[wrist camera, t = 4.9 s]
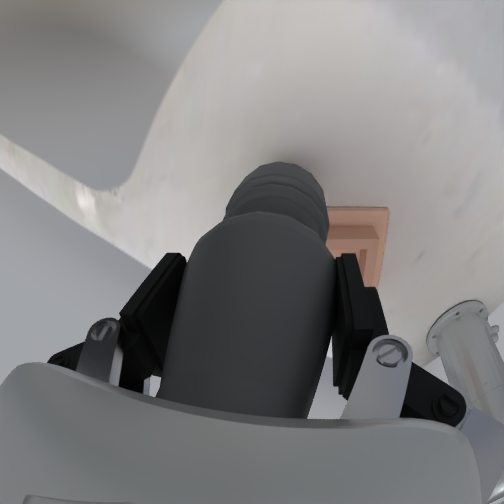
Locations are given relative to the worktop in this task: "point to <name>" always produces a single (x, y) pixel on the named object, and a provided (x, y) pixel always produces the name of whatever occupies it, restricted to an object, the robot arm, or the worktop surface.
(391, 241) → the worktop surface
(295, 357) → the candle holder
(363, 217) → the square tray
